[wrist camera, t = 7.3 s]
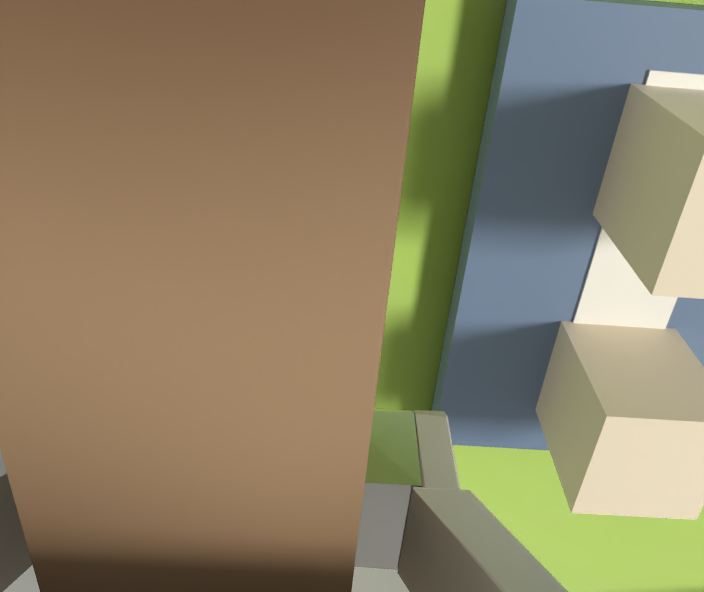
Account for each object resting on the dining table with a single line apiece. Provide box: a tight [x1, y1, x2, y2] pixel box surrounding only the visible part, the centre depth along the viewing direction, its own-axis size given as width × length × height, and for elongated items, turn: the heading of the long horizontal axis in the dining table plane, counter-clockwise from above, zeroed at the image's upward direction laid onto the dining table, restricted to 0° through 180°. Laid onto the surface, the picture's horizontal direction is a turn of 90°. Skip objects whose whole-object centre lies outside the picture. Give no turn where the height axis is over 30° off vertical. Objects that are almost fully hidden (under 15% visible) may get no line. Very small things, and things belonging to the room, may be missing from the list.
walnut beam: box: [0, 0, 425, 592], centre depth 10 cm, size 16×4×6 cm, turn 176°
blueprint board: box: [431, 0, 704, 520], centre depth 25 cm, size 20×14×8 cm
